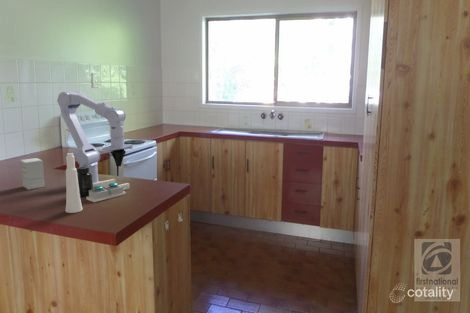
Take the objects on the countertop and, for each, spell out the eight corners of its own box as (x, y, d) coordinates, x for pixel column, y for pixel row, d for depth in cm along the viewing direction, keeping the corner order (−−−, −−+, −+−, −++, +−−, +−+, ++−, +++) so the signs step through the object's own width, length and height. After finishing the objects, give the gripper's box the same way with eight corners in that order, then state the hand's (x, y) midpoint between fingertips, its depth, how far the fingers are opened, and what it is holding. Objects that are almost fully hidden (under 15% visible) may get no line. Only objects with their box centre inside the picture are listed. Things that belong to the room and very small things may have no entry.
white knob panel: (71, 193, 163) (70, 185, 162) (113, 183, 179) (113, 176, 178) (94, 202, 151) (93, 194, 151) (137, 191, 167) (136, 183, 167)
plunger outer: (92, 195, 156) (92, 187, 155) (100, 193, 158) (99, 185, 158) (97, 197, 153) (96, 188, 153) (105, 195, 156) (104, 187, 155)
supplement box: (39, 183, 177) (37, 157, 175) (45, 186, 172) (42, 160, 169) (22, 186, 172) (19, 159, 170) (27, 190, 167) (24, 162, 164)
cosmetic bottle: (77, 206, 146) (73, 151, 142) (85, 210, 142) (82, 153, 138) (62, 210, 141) (57, 153, 137) (70, 214, 138) (66, 155, 133)
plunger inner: (107, 192, 161) (107, 183, 160) (114, 190, 164) (114, 182, 163) (112, 193, 159) (111, 185, 158) (119, 191, 161) (119, 183, 161)
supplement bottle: (96, 192, 164) (94, 165, 162) (90, 197, 158) (88, 169, 155) (80, 192, 164) (78, 165, 162) (74, 197, 158) (71, 169, 155)
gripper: (108, 139, 161) (109, 170, 164) (136, 135, 172) (137, 164, 175) (99, 137, 166) (100, 167, 168) (126, 134, 177) (128, 162, 179)
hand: (118, 165), depth 172 cm, fingers closed
